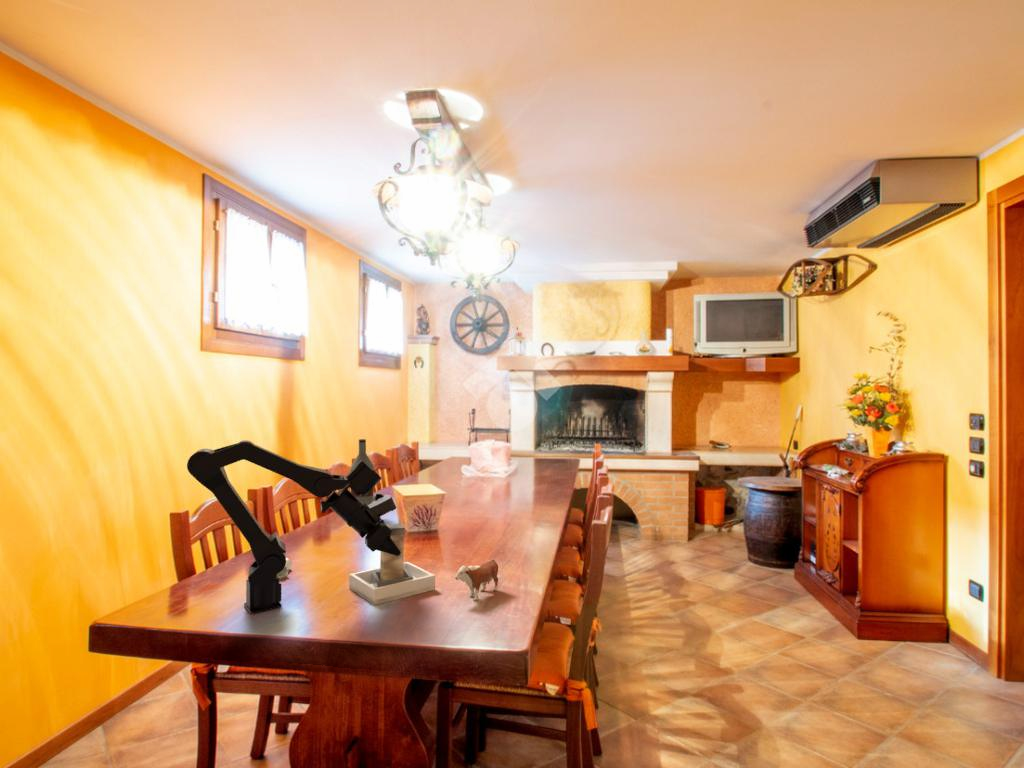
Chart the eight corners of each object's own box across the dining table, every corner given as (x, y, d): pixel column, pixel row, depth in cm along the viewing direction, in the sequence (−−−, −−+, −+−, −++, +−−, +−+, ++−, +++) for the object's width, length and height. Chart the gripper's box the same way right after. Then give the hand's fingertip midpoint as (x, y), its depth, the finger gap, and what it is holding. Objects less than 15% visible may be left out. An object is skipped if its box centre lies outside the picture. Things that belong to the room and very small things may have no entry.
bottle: (368, 515, 222) (368, 437, 222) (379, 519, 215) (379, 439, 215) (345, 518, 216) (345, 439, 216) (355, 522, 209) (355, 441, 209)
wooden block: (383, 588, 136) (383, 529, 137) (379, 582, 141) (380, 525, 142) (403, 585, 138) (404, 527, 139) (400, 579, 143) (400, 523, 143)
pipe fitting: (286, 569, 157) (262, 573, 152) (287, 555, 157) (263, 558, 153) (300, 576, 152) (274, 580, 147) (301, 561, 152) (276, 564, 147)
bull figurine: (451, 601, 132) (451, 566, 132) (491, 586, 142) (490, 553, 142) (465, 606, 129) (465, 570, 129) (504, 590, 139) (504, 556, 139)
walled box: (374, 605, 129) (374, 589, 129) (349, 588, 140) (349, 574, 140) (435, 589, 139) (435, 575, 139) (407, 575, 150) (407, 561, 150)
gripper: (382, 491, 130) (429, 535, 134) (369, 479, 147) (412, 518, 151) (346, 529, 127) (396, 572, 131) (338, 512, 144) (381, 551, 148)
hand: (397, 551), depth 140 cm, fingers closed on wooden block, 5 cm apart
